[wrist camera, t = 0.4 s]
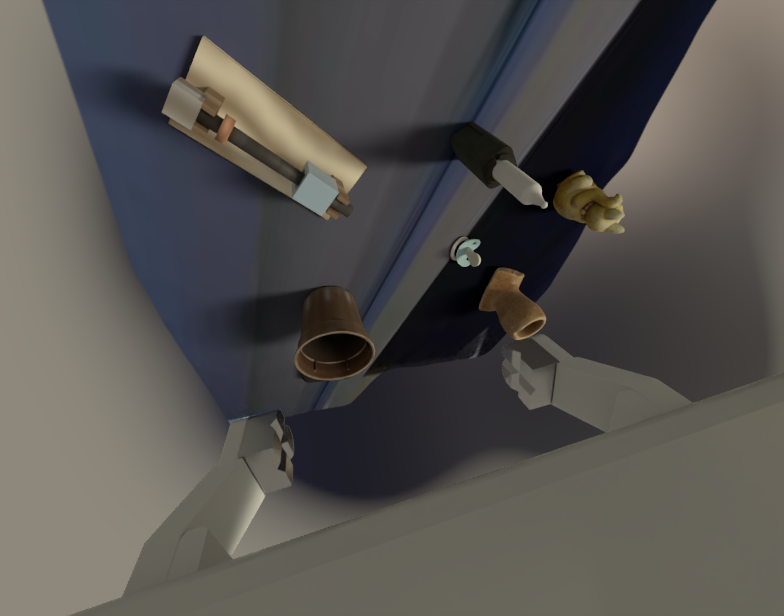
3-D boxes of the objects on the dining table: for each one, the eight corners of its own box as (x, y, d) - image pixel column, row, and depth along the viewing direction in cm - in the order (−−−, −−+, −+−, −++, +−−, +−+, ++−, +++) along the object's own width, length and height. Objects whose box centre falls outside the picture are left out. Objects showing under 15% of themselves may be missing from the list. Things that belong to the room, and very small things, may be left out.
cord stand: (204, 35, 39) (187, 44, 32) (365, 164, 55) (376, 188, 48) (170, 121, 44) (149, 143, 37) (327, 216, 60) (332, 245, 53)
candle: (458, 162, 58) (531, 232, 41) (448, 137, 55) (522, 203, 37) (483, 144, 57) (568, 209, 40) (474, 118, 53) (563, 177, 36)
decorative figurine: (587, 194, 70) (639, 228, 60) (553, 218, 73) (597, 255, 63) (579, 161, 64) (635, 193, 54) (542, 188, 67) (589, 224, 56)
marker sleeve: (307, 160, 47) (309, 172, 43) (335, 180, 49) (339, 192, 46) (291, 184, 48) (292, 198, 45) (319, 202, 51) (321, 216, 48)
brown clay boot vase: (507, 306, 92) (535, 345, 82) (471, 307, 89) (496, 348, 78) (532, 264, 82) (567, 303, 72) (493, 264, 79) (524, 304, 68)
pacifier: (445, 259, 74) (468, 261, 76) (454, 276, 70) (478, 277, 72) (455, 232, 70) (479, 234, 71) (466, 248, 65) (491, 250, 67)
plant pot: (309, 335, 81) (312, 389, 70) (281, 291, 69) (280, 348, 58) (369, 316, 81) (382, 367, 70) (351, 269, 70) (363, 321, 58)
